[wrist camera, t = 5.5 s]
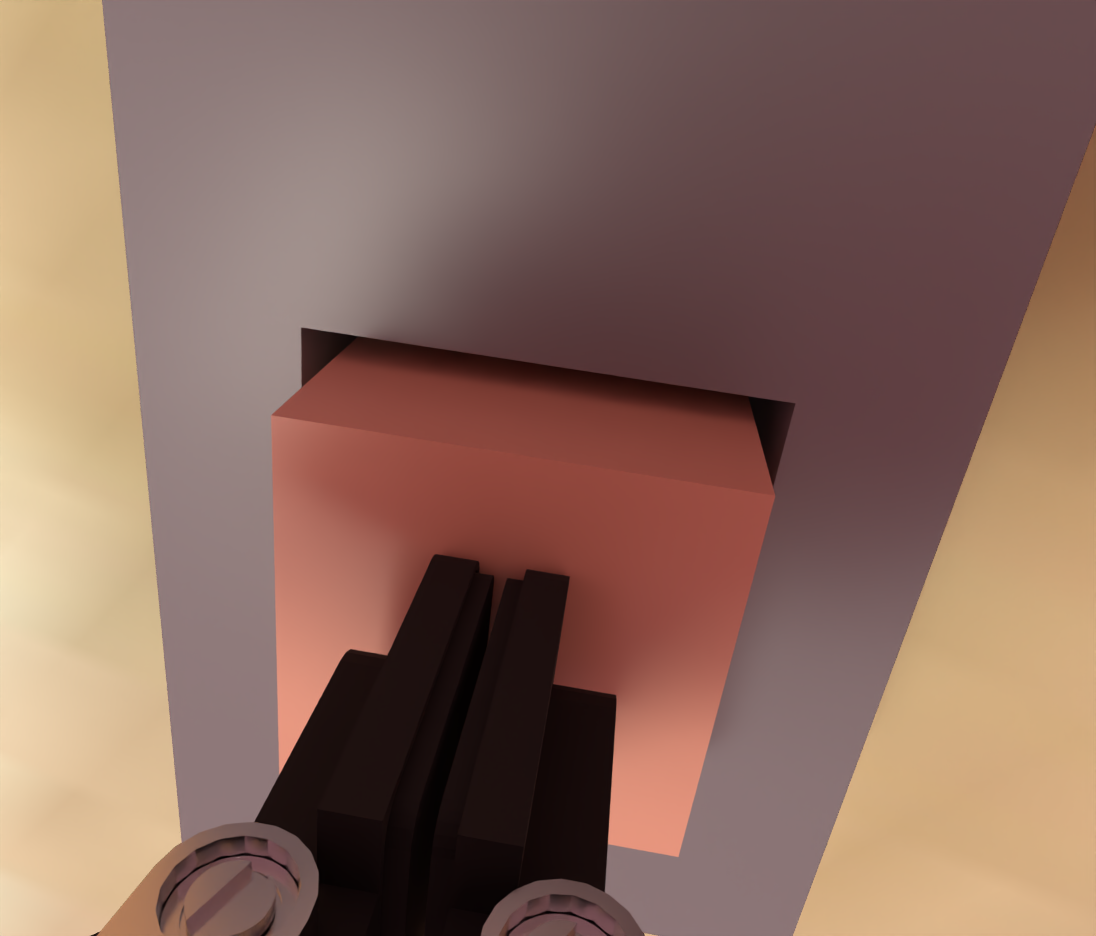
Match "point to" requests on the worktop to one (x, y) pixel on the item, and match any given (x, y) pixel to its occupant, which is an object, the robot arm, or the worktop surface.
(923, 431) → the key block
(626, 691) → the terracotta key
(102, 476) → the worktop surface
